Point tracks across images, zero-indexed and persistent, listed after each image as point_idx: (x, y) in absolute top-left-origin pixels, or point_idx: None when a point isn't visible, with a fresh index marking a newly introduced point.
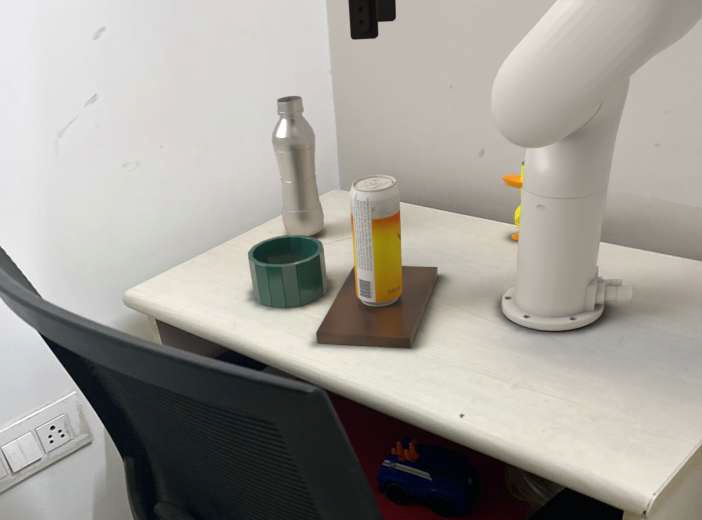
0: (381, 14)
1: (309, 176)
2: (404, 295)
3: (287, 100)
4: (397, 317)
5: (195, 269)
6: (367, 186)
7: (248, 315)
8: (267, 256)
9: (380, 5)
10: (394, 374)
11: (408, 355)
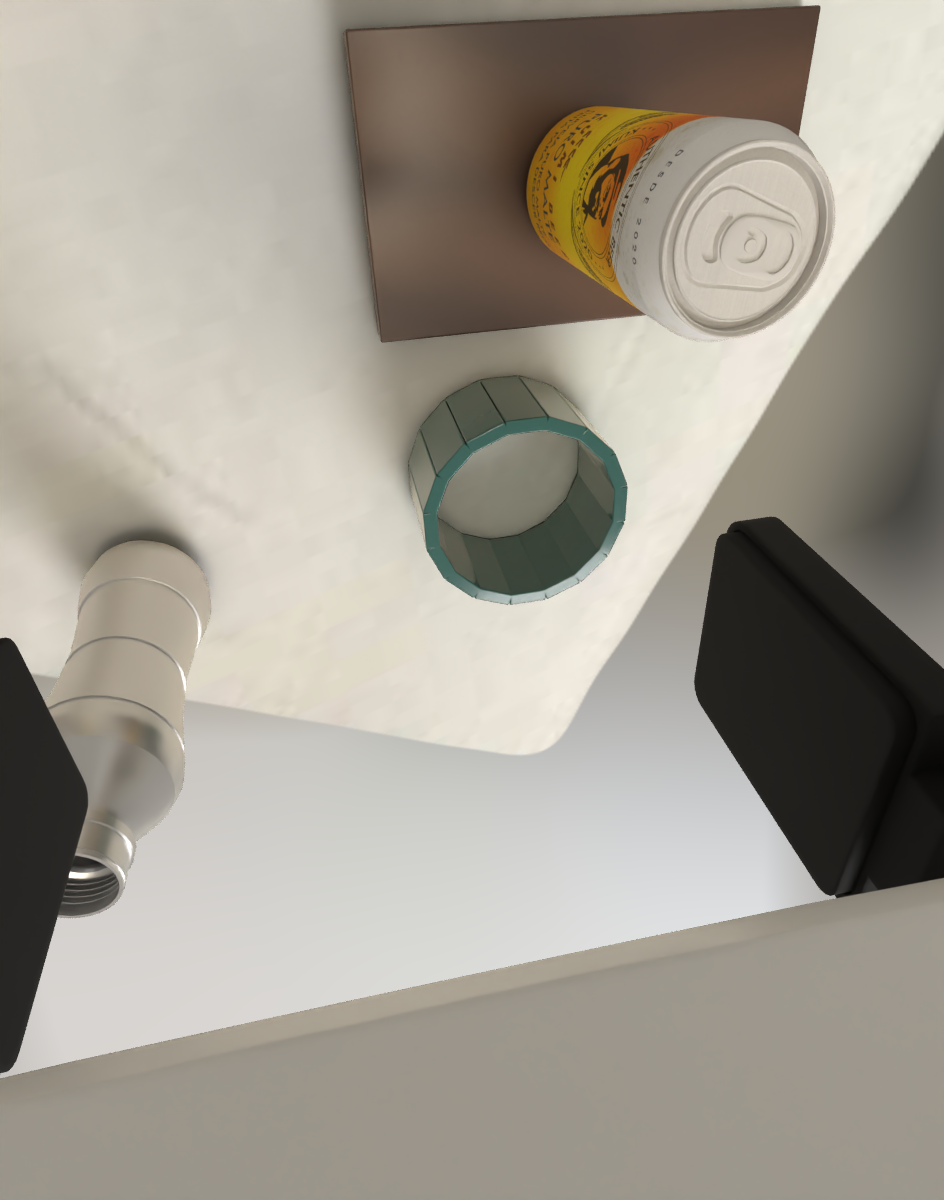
0: (39, 762)
1: (138, 645)
2: (569, 103)
3: None
4: (705, 85)
5: (424, 710)
6: (769, 263)
7: (626, 507)
8: (473, 567)
9: (19, 829)
10: (920, 21)
11: (834, 4)
